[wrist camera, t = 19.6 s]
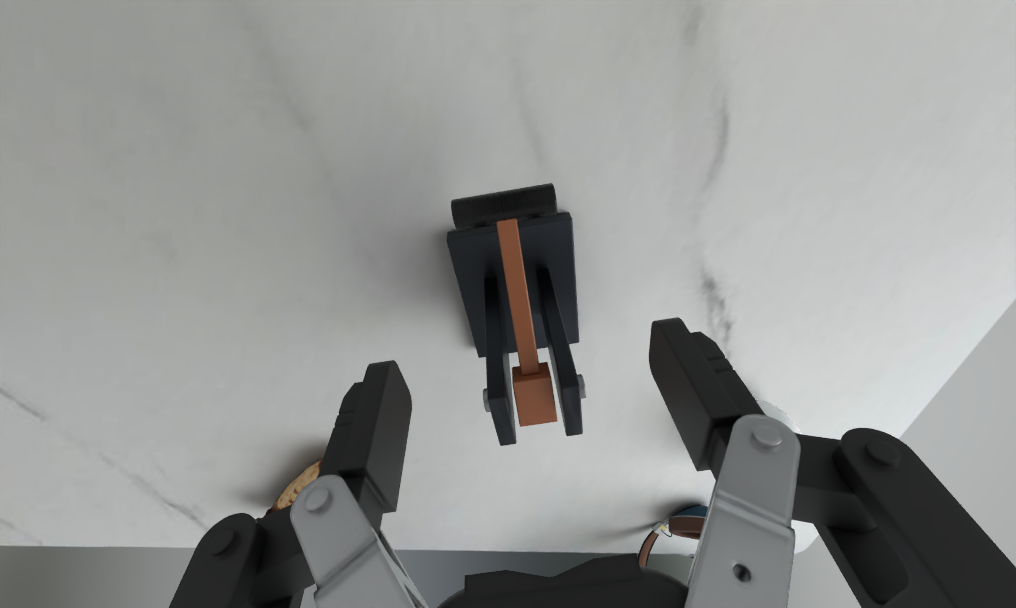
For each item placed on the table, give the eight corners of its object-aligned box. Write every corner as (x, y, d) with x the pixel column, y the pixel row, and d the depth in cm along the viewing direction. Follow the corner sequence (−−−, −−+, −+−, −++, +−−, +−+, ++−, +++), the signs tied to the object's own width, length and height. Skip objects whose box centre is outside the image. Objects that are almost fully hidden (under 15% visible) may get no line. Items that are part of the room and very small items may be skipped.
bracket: (446, 231, 30) (431, 355, 19) (569, 211, 29) (619, 326, 19) (478, 348, 37) (479, 483, 27) (576, 333, 36) (615, 464, 26)
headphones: (755, 477, 52) (616, 524, 63) (824, 625, 41) (640, 652, 51) (776, 491, 55) (639, 534, 66) (846, 633, 44) (667, 657, 54)
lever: (454, 200, 23) (448, 199, 21) (550, 184, 23) (554, 181, 20) (493, 411, 26) (492, 431, 23) (579, 398, 26) (586, 417, 23)
